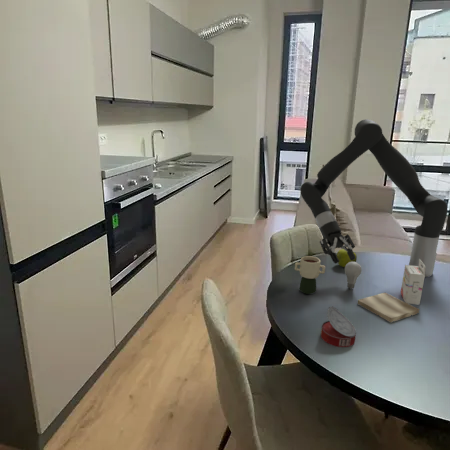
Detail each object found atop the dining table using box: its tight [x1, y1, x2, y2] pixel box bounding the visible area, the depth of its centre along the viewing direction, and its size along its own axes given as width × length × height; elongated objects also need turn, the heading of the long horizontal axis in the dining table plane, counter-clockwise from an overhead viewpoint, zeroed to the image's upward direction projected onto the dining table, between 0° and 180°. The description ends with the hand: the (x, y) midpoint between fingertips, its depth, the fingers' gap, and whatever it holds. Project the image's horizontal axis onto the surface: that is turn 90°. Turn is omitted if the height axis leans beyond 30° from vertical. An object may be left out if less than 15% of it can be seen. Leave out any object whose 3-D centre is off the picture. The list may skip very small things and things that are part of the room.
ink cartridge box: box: [400, 259, 426, 306], centre depth 137 cm, size 9×5×15 cm, turn 168°
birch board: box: [357, 292, 420, 323], centre depth 131 cm, size 14×14×2 cm
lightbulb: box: [344, 261, 363, 290], centre depth 144 cm, size 6×6×11 cm
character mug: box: [294, 255, 326, 295], centre depth 140 cm, size 11×7×13 cm, turn 76°
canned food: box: [320, 306, 357, 348], centre depth 112 cm, size 11×10×10 cm
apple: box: [336, 248, 357, 268], centre depth 166 cm, size 8×9×8 cm
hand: (345, 261), depth 146 cm, fingers open, 8 cm apart
